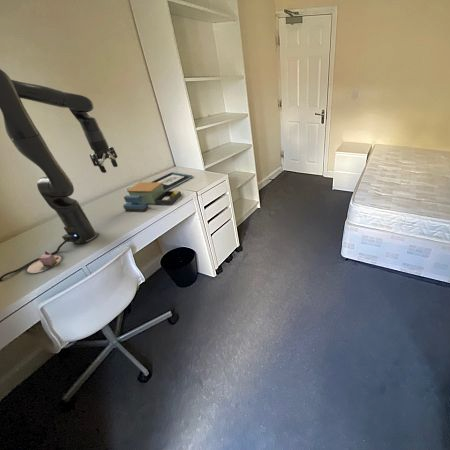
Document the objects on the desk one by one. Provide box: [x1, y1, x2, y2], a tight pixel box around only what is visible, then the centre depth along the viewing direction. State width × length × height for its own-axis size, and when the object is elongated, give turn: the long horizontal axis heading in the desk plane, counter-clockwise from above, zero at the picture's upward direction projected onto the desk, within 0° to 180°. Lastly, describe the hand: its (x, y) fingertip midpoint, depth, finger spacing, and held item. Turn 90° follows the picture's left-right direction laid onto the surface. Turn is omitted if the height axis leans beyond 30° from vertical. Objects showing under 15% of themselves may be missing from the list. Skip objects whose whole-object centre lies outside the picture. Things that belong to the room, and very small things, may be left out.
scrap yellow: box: [171, 189, 179, 197], centre depth 166 cm, size 4×4×2 cm
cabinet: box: [126, 181, 165, 205], centre depth 163 cm, size 13×16×9 cm
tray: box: [154, 190, 182, 206], centre depth 164 cm, size 13×10×3 cm
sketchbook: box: [151, 171, 194, 191], centre depth 188 cm, size 22×30×2 cm
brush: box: [122, 194, 150, 212], centre depth 153 cm, size 12×5×9 cm, turn 84°
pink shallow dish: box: [26, 251, 62, 275], centre depth 114 cm, size 12×12×4 cm
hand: (110, 169), depth 140 cm, fingers open, 8 cm apart
